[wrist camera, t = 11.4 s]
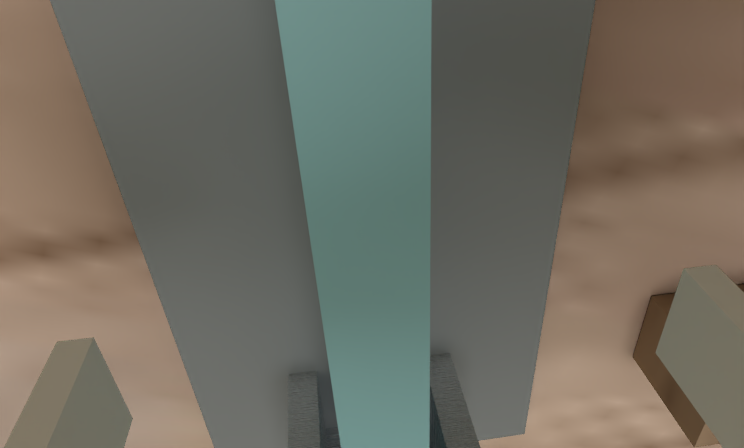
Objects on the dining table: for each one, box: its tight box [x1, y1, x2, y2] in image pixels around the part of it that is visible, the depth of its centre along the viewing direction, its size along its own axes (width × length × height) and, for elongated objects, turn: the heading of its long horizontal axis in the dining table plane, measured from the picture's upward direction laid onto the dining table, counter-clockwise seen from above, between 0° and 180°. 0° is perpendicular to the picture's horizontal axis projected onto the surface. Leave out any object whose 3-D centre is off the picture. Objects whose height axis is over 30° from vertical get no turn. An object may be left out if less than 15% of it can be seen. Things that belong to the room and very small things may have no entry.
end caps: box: [288, 353, 480, 448], centre depth 17 cm, size 7×28×5 cm, turn 3°
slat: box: [275, 0, 432, 448], centre depth 17 cm, size 3×24×5 cm, turn 3°
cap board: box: [50, 0, 595, 448], centre depth 19 cm, size 15×31×1 cm, turn 3°
